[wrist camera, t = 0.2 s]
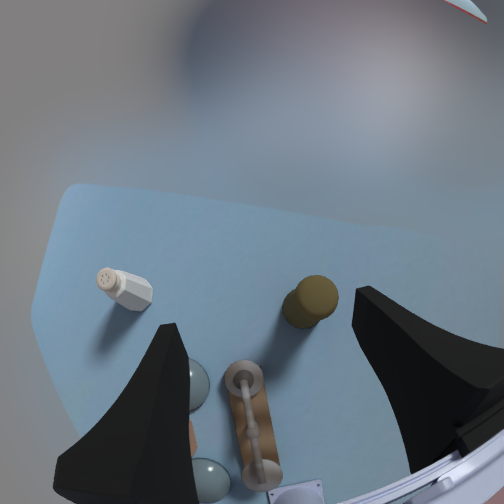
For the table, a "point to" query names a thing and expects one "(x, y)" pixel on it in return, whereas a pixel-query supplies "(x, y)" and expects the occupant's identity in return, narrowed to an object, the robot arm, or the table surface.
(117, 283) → the salt shaker
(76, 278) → the table surface
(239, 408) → the balance
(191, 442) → the block
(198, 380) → the grey dome
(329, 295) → the cork
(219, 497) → the smooth grey pebble
